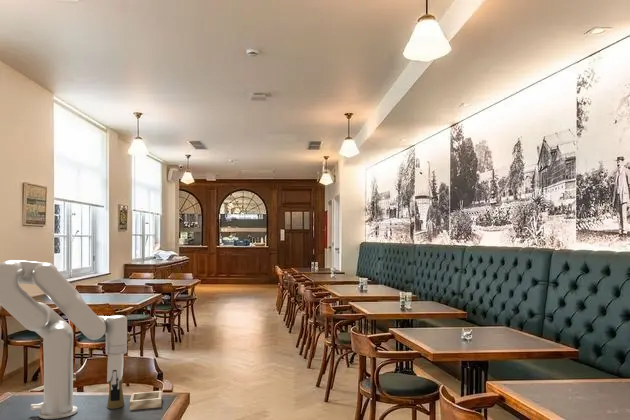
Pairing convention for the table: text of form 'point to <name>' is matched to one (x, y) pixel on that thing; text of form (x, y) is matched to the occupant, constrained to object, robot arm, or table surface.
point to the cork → (121, 402)
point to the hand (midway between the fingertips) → (115, 398)
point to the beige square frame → (146, 400)
